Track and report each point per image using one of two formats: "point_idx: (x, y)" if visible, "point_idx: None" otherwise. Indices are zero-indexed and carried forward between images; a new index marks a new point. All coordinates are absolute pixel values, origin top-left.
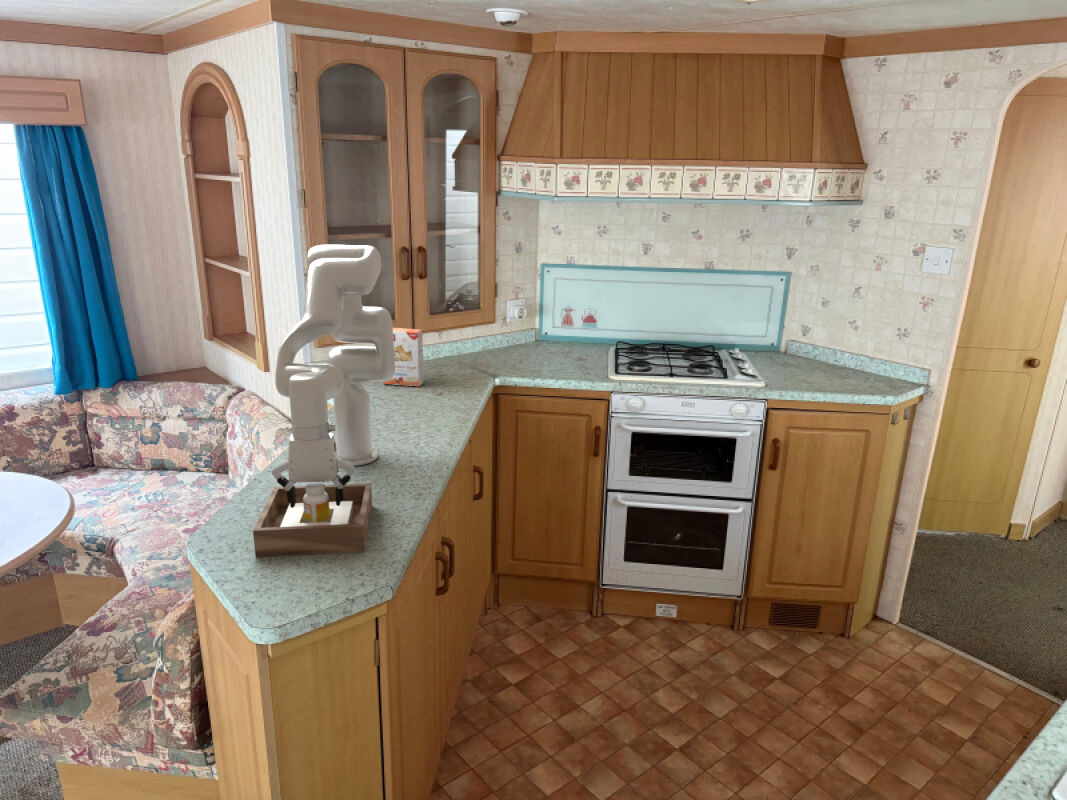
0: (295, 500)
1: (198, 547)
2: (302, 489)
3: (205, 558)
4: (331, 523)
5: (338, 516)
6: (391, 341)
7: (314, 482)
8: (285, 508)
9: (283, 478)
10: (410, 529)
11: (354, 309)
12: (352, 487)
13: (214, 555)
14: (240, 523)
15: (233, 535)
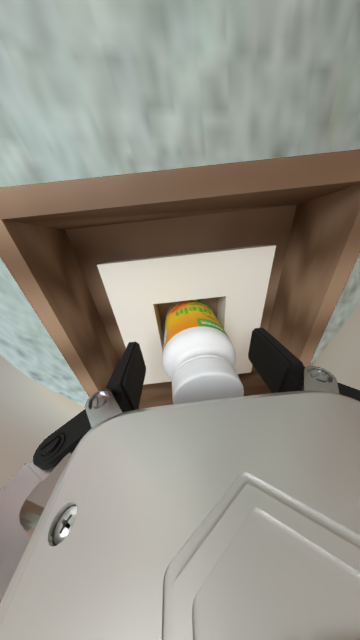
0: (139, 356)
1: (23, 369)
2: (105, 210)
3: (60, 390)
4: None
5: (237, 333)
6: None
7: (202, 380)
8: (79, 228)
9: (69, 456)
10: (345, 309)
11: None
12: (310, 188)
13: (66, 384)
14: (19, 291)
15: (46, 336)
